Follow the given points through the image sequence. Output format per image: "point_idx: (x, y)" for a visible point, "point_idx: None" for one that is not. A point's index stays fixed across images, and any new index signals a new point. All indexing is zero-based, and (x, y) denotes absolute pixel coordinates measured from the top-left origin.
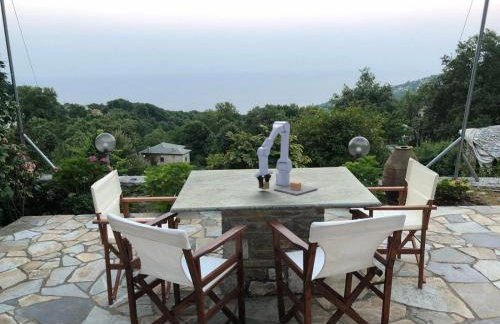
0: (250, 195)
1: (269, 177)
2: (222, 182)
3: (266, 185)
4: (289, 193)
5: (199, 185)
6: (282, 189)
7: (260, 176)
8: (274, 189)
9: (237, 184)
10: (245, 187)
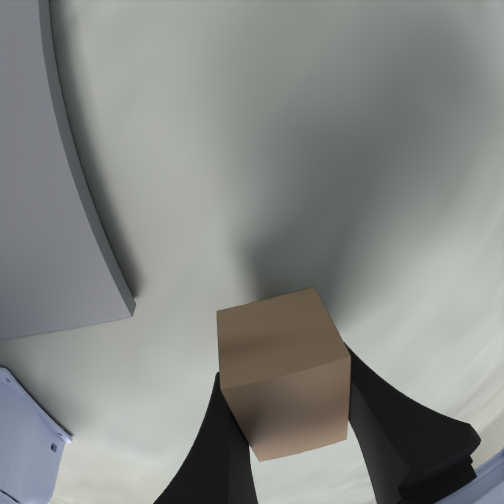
0: (474, 237)
1: (203, 493)
2: (332, 499)
3: (295, 337)
4: (46, 14)
5: None
6: (38, 215)
7: (448, 480)
8: (129, 302)
9: (306, 485)
10: (318, 450)
